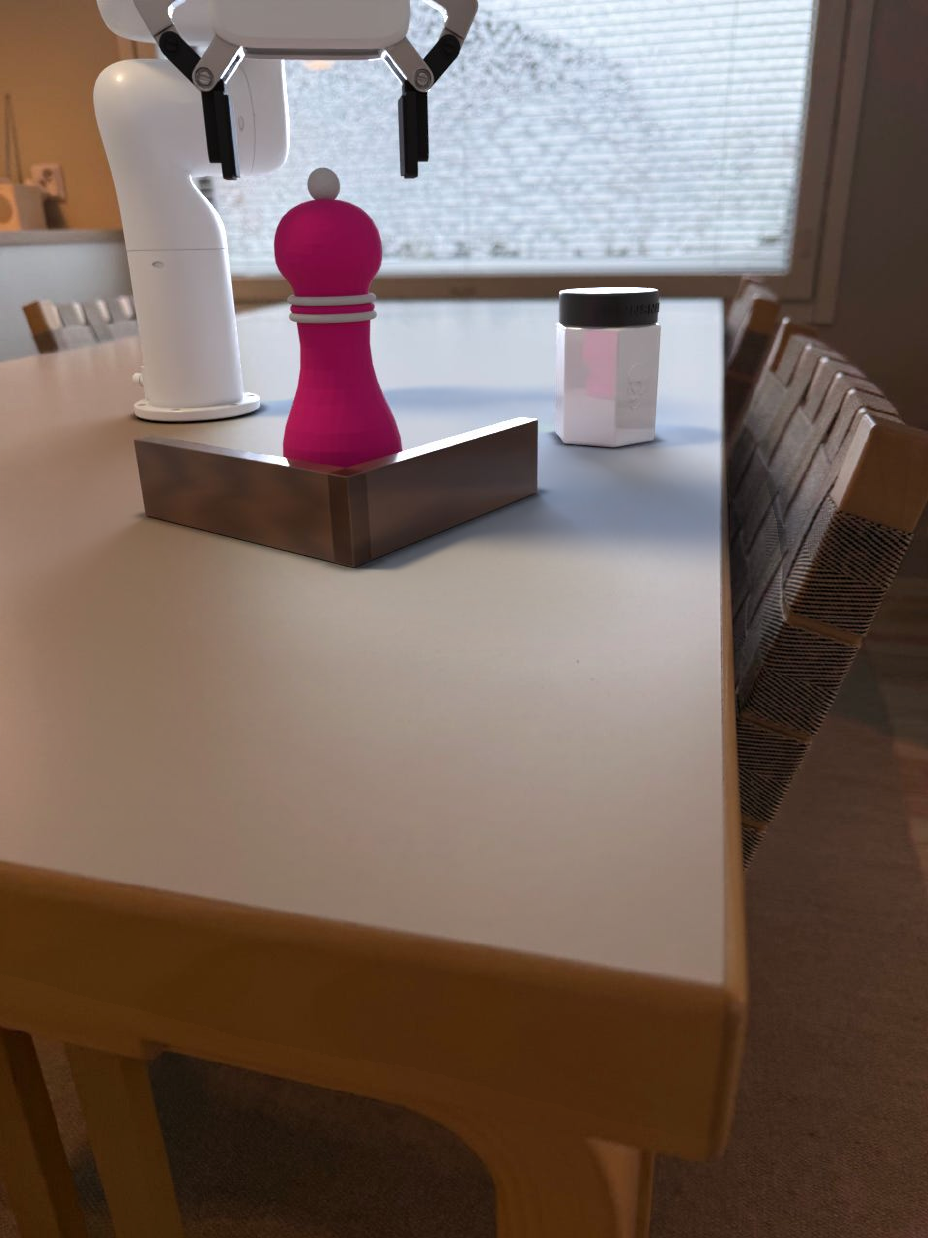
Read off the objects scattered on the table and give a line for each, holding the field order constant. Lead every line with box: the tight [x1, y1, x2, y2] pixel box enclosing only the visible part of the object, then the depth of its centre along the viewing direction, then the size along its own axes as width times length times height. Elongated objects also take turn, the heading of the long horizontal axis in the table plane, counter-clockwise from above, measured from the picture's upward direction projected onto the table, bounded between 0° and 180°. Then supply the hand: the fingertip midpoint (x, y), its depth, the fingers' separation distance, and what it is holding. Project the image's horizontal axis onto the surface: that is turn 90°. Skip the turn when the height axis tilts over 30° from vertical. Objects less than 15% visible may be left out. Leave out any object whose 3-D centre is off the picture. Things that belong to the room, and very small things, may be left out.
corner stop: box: [133, 417, 539, 568], centre depth 61 cm, size 18×18×5 cm
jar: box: [554, 287, 662, 448], centre depth 77 cm, size 9×8×12 cm
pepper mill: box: [273, 167, 404, 468], centre depth 54 cm, size 7×7×20 cm
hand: (321, 178), depth 50 cm, fingers open, 9 cm apart
